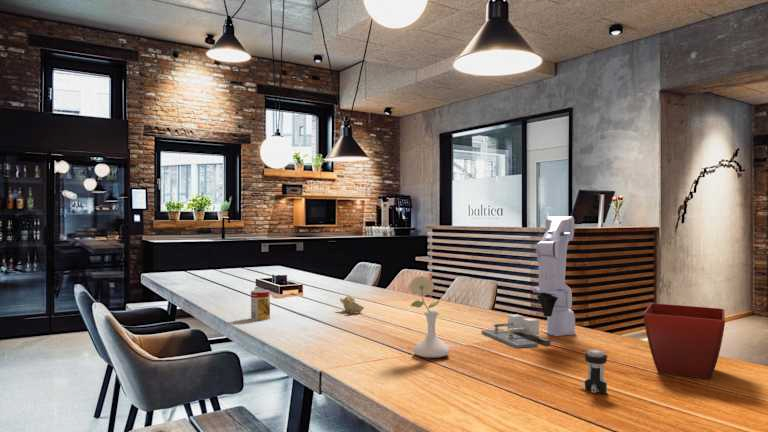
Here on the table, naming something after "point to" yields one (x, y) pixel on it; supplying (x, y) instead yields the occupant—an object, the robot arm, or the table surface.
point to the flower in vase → (431, 343)
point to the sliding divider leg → (527, 327)
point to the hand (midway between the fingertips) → (547, 316)
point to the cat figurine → (351, 305)
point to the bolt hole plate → (509, 338)
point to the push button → (595, 372)
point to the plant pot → (684, 338)
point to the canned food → (260, 305)
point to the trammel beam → (534, 338)
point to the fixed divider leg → (511, 322)
